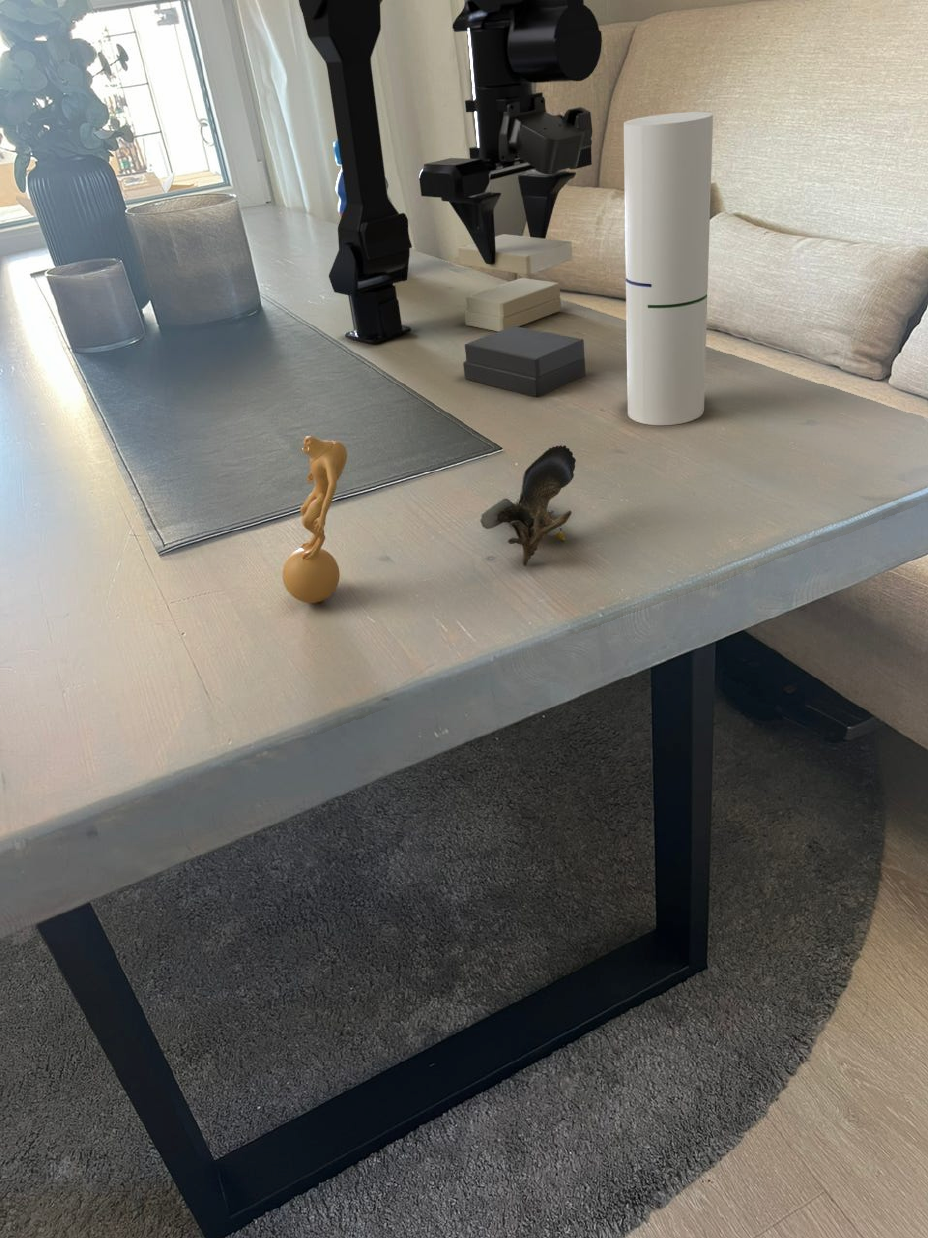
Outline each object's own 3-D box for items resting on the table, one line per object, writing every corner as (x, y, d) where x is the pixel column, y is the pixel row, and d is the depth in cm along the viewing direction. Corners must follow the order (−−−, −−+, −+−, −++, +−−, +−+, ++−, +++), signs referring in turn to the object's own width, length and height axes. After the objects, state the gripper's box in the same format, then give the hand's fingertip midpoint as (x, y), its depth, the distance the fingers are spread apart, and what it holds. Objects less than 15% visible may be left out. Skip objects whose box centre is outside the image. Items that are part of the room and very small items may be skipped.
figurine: (285, 576, 70) (249, 424, 64) (364, 561, 71) (336, 409, 65) (292, 634, 63) (252, 471, 57) (379, 616, 64) (349, 453, 58)
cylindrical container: (656, 393, 94) (657, 112, 81) (718, 405, 90) (730, 110, 76) (612, 416, 90) (605, 125, 77) (674, 430, 86) (679, 124, 72)
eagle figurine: (604, 549, 66) (599, 475, 73) (544, 483, 63) (544, 411, 69) (519, 597, 70) (521, 522, 76) (457, 537, 66) (464, 464, 73)
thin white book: (459, 265, 99) (457, 247, 98) (504, 251, 103) (503, 233, 102) (527, 275, 93) (525, 256, 92) (573, 259, 96) (572, 241, 95)
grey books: (464, 379, 104) (460, 343, 102) (513, 359, 108) (510, 324, 106) (536, 397, 97) (533, 359, 95) (586, 375, 101) (584, 338, 99)
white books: (503, 332, 118) (501, 303, 116) (465, 325, 122) (462, 296, 120) (561, 310, 123) (560, 282, 121) (522, 304, 128) (520, 277, 126)
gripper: (488, 96, 79) (503, 287, 87) (633, 68, 88) (633, 243, 97) (406, 98, 86) (427, 274, 94) (547, 73, 96) (555, 234, 104)
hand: (514, 256), depth 97 cm, fingers closed on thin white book, 7 cm apart
